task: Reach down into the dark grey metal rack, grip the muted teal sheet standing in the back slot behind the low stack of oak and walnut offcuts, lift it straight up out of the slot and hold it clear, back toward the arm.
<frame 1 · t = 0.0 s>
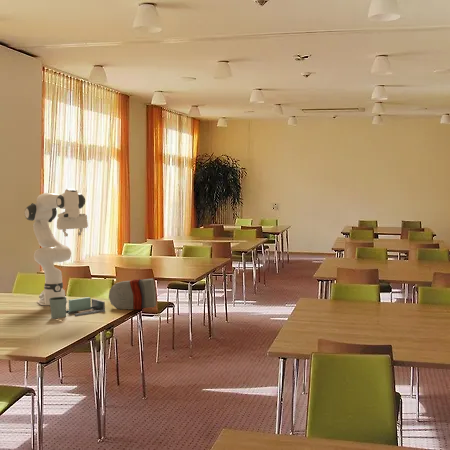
hand: (72, 235, 422), 48 cm above the table, tool pointing down, fingers open, 8 cm apart
decorative stone tablet: (132, 309, 424), on the table
offcut walnut: (85, 313, 410), point 1 cm above the table, touching offcut oak
offcut rack: (83, 313, 412), on the table
teal sheet: (80, 312, 416), on the table
offcut oak: (85, 315, 410), on the table, touching offcut walnut
grey-green bin: (58, 317, 402), on the table
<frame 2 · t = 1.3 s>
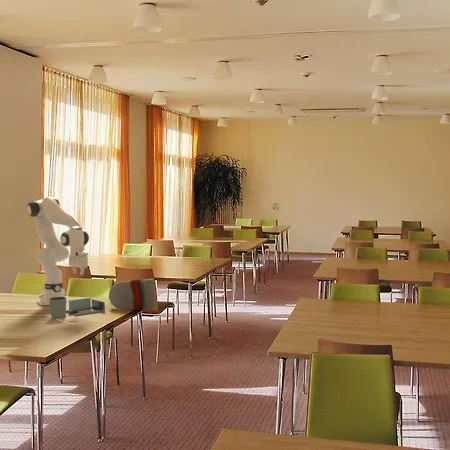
hand: (78, 274, 414), 24 cm above the table, tool pointing down, fingers open, 8 cm apart
offcut walnut: (85, 313, 410), point 1 cm above the table
offcut oak: (85, 315, 410), on the table
everything else where it was.
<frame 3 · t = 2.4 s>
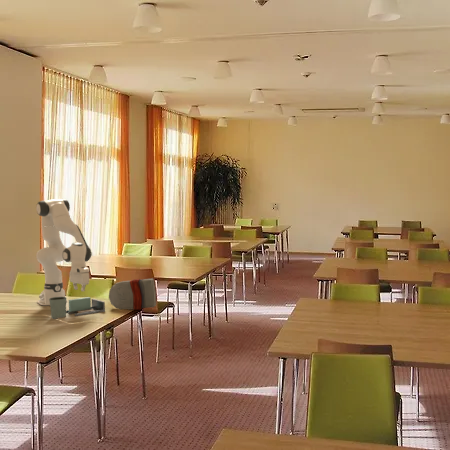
hand: (79, 290, 415), 14 cm above the table, tool pointing down, fingers open, 8 cm apart
offcut walnut: (86, 313, 410), point 1 cm above the table, touching offcut oak
offcut oak: (85, 315, 410), on the table, touching offcut walnut
everything else where it was.
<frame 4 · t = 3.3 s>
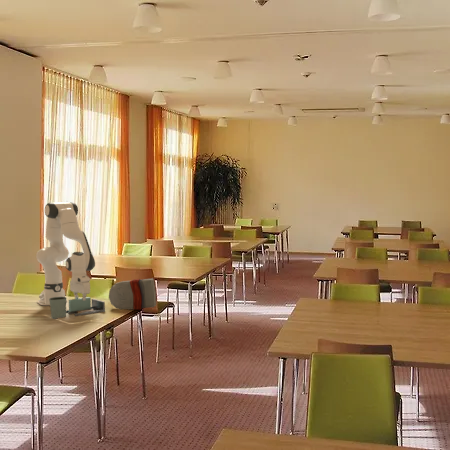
hand: (80, 299, 415), 8 cm above the table, tool pointing down, fingers open, 8 cm apart
nothing on the table moved.
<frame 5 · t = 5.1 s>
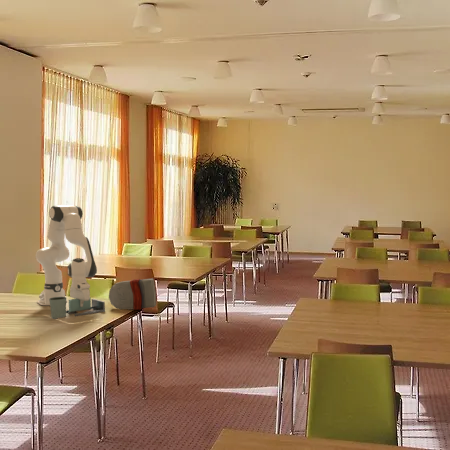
hand: (79, 306, 416), 4 cm above the table, tool pointing down, fingers closed on teal sheet, 2 cm apart
teal sheet: (80, 312, 416), on the table, touching gripper
everything else where it was.
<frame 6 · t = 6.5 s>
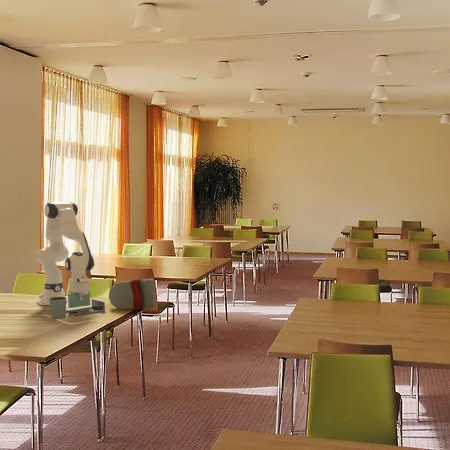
hand: (79, 299, 416), 8 cm above the table, tool pointing down, fingers closed on teal sheet, 2 cm apart
teal sheet: (79, 306, 416), point 4 cm above the table, touching gripper
everything else where it was.
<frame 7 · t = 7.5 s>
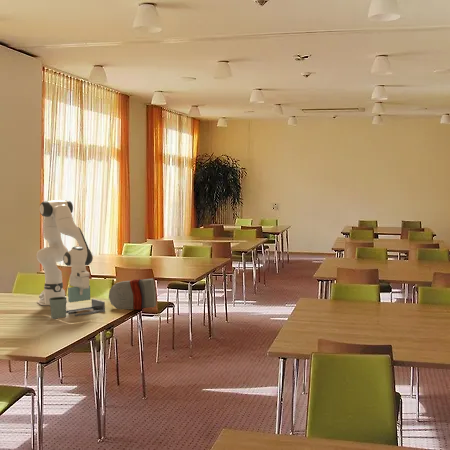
hand: (79, 294, 415), 12 cm above the table, tool pointing down, fingers closed on teal sheet, 2 cm apart
teal sheet: (79, 300, 416), point 8 cm above the table, touching gripper
everything else where it was.
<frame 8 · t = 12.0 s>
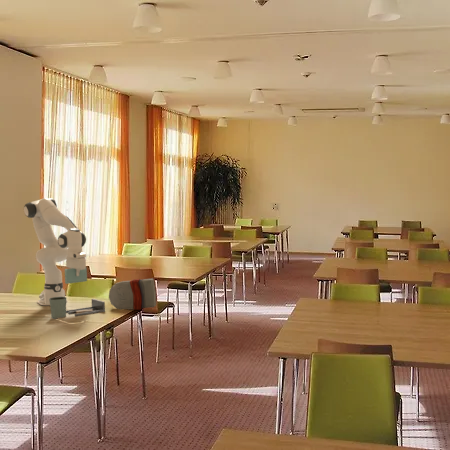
hand: (75, 275, 418), 23 cm above the table, tool pointing down, fingers closed on teal sheet, 2 cm apart
teal sheet: (76, 282, 418), point 19 cm above the table, touching gripper
everything else where it was.
at the end: teal sheet point 18.9 cm above the table; the gripper is holding teal sheet; offcut walnut moved 1.1 cm from its start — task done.
